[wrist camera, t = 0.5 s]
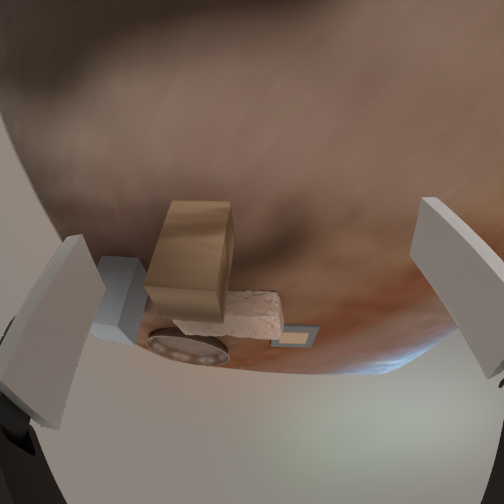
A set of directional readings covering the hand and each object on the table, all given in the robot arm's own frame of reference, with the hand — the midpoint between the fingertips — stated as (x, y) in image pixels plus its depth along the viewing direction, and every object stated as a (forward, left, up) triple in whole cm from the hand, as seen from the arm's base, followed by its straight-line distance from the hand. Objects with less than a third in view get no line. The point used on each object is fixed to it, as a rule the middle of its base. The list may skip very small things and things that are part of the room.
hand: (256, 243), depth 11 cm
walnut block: (+14, -7, -15) cm, 21 cm away
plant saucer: (+50, -16, -15) cm, 55 cm away
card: (+43, +5, -14) cm, 46 cm away
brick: (+32, -6, -15) cm, 36 cm away
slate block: (+24, -20, -15) cm, 34 cm away
